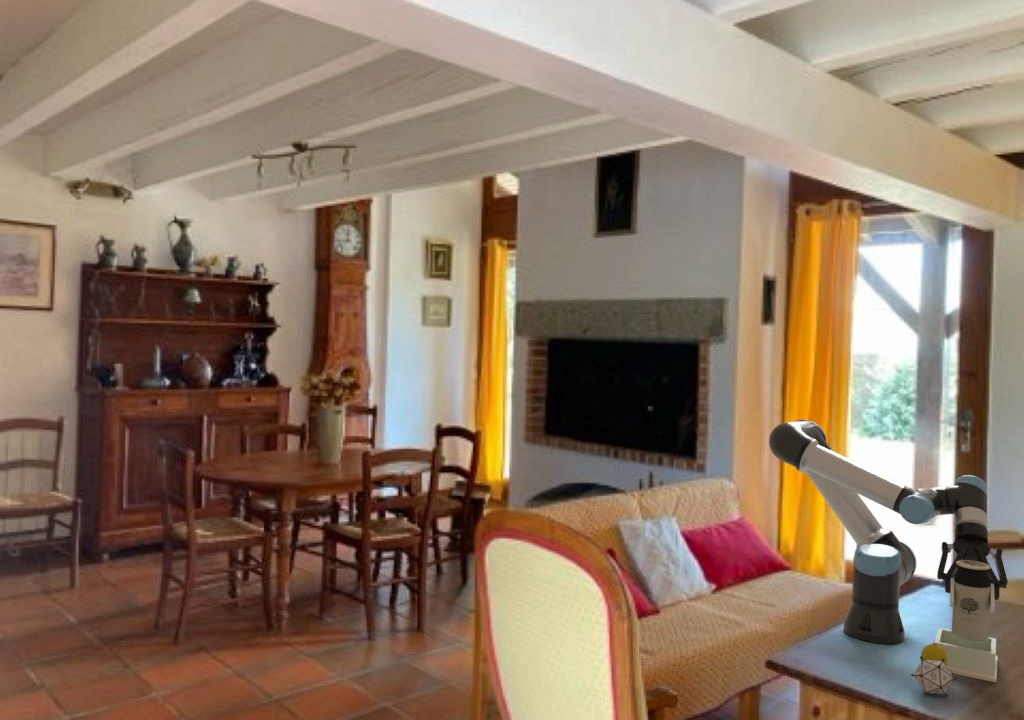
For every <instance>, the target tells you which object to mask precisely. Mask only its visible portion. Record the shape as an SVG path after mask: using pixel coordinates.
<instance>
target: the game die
mask: <svg viewBox="0 0 1024 720" xmlns="http://www.w3.org/2000/svg"><path fill="white" fill-rule="evenodd" d="M919 657H920V658H919V659H920V663H919V665H918V667H917V668H916V671H915V673H912V674H910V676H911V677H914V678H915V680H916V681H917V682H918V684H919V685H920V687H921V689H922V690H923V693H922V696H923V697H924V696H926V695H927V694H933V695H944V697H946V698H947V699H948V698H949V696H948V694H947V692H948V691H949V689H950V687H951V685H952V683H953V682H954V680H958V679H959V678H958V677H956V676H954V675H953V673H950V671H949V670H948V668H947V667H946V665H945V664H944V662H943V661H944V658H942V661H937V660H924V659H923V658H922V657H921V655H920V656H919ZM921 660H922V661H921Z"/></svg>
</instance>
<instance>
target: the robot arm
mask: <svg viewBox="0 0 1024 720" xmlns="http://www.w3.org/2000/svg"><path fill="white" fill-rule="evenodd" d="M768 444H769V445H768V446H769V448H770V450H771V453H772V454H773V456H775V457H776V458H777V459H778V460H780V461H781V462H783V463H786V464H788V465H790V466H792V467H794V468H795V469H796V470H797V471H798V473H801V474H802V473H803V474H806V475H807V477H808V478H809V479H810V481H811V482H812V484H813V485H814V486H815V487H816V489H817V490H818V492H819V493H820V495H821V496H822V497H823V499H824V500H825V501H826V503H827V504H828V505H829V507H830V509H831V510H832V512H833V513H834V514H835V515H836V517H837V518H838V520H839V521H840V523H841V524H842V526H843V527H844V528H845V530H846V531H847V532H848V534H849V535H850V537H851V539H853V540H854V542H855V544H856V547H855V551H854V556H853V558H852V559H853V560H852V562H853V572H852V574H853V575H852V592H851V593H852V595H851V604H850V606H849V609H848V611H847V613H846V615H845V618H844V621H843V631H844V633H845V634H847V635H849V636H850V637H852V638H855V639H858V640H860V639H861V641H864V640H865V642H868V641H869V643H872V644H873V643H875V644H880V645H881V644H883V645H884V644H885V645H892V644H894V645H895V644H900V643H902V642H904V641H905V628H904V624H903V620H902V618H901V614H900V611H899V610H900V609H899V608H900V607H899V606H900V604H899V603H900V589H901V588H900V587H902V585H904V584H906V583H907V582H909V581H910V580H911V579H912V577H913V576H914V574H915V572H916V570H917V558H916V555H915V553H914V551H913V550H912V548H911V547H910V546H909V545H907V543H905V542H903V541H900V540H899V539H898V537H897V536H896V535H895V533H894V532H893V531H892V530H891V529H888V528H884V527H883V526H882V525H881V524H880V522H879V521H878V519H877V518H876V516H874V514H873V513H872V511H871V510H870V509H869V507H868V506H867V505H866V503H865V502H864V501H863V499H862V497H864V498H866V499H868V500H870V501H872V502H874V503H877V504H878V505H881V506H882V507H885V508H887V509H889V510H891V511H893V512H895V513H897V514H899V515H901V517H902V519H904V521H905V522H907V523H908V524H913V525H922V524H926V523H928V522H929V521H930V520H932V519H933V518H935V517H936V516H944V515H954V527H955V528H954V541H953V543H948V542H946V541H942V542H941V553H942V554H941V556H940V561H939V564H938V569H937V574H936V578H937V579H938V580H943V581H944V591H945V592H944V593H945V594H949V607H951V608H953V606H954V574H955V573H956V571H957V570H958V568H957V564H956V561H959V560H971V561H977V562H982V563H985V564H988V565H989V566H990V569H989V572H988V575H989V577H990V579H991V590H990V611H989V614H990V613H991V614H994V613H995V608H996V603H995V601H999V599H1000V589H1001V588H1002V589H1006V588H1007V586H1008V578H1007V574H1006V570H1005V566H1004V563H1003V558H1002V556H1003V549H1002V548H996V549H994V548H991V546H990V545H989V531H988V528H989V527H988V526H989V524H988V522H989V521H988V495H987V487H986V485H987V484H986V483H985V481H984V480H983V479H982V478H980V477H979V476H976V475H971V474H967V475H966V474H964V475H962V476H960V477H958V478H956V479H955V482H954V485H949V486H939V487H925V488H922V487H918V488H912V487H909V486H907V485H906V484H903V483H901V482H899V481H897V480H895V479H892V478H890V477H888V476H886V475H883V474H882V473H880V472H877V471H876V470H873V469H871V468H869V467H866V466H864V465H862V464H861V463H858V462H856V461H854V460H852V459H849V458H847V457H845V456H844V455H841V454H840V453H837V452H835V451H833V450H832V448H831V447H830V445H829V444H828V443H827V436H826V434H825V431H824V430H823V428H822V427H821V425H819V424H817V423H816V422H814V421H810V420H806V419H797V420H793V421H788V422H787V421H786V422H783V423H780V424H778V425H776V426H775V427H774V428H773V429H772V430H771V432H770V434H769V438H768ZM861 496H862V497H861ZM952 550H953V551H954V552H955V553H956V554H957V556H956V557H955V559H954V561H953V562H952V564H951V565H950V567H949V569H948V570H947V572H945V570H946V565H947V560H948V556H949V554H950V553H951V552H952ZM988 555H991V557H992V558H993V559H994V564H995V567H996V572H997V575H998V577H997V575H996V573H995V571H994V570H993V568H992V566H991V564H990V563H989V561H988V559H987V556H988Z"/></svg>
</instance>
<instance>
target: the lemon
mask: <svg viewBox="0 0 1024 720" xmlns="http://www.w3.org/2000/svg"><path fill="white" fill-rule="evenodd" d="M920 656H921V657H922V658H923V659H924V660H937V661H942V658H944V661H943V662H944V664H945V665H947V657H946V654H945V651H944V650H943V649H942V648H941V647H940V646H939V645H937V644H936V643H935V642H932V643H929V644H927V645H925V646H924V647H923V648H922V650H921V654H920ZM921 661H922V660H921V659H920V662H921Z"/></svg>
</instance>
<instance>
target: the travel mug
mask: <svg viewBox="0 0 1024 720" xmlns="http://www.w3.org/2000/svg"><path fill="white" fill-rule="evenodd" d="M956 564H957V568H958V570H957V571H956V573H955V574H954V576H953V578H954V606H953V607H952V616H951V617H952V618H951V630H952V633H953V634H954V635H956V636H957V637H960V638H963V639H967V640H972V641H983V640H987V639H988V637H989V631H990V590H991V579H990V577H989V575H988V572H989V569H990V566H991V565H990V564H989V565H990V566H989V565H988V564H985V563H982V562H977V561H971V560H959V561H956Z"/></svg>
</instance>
